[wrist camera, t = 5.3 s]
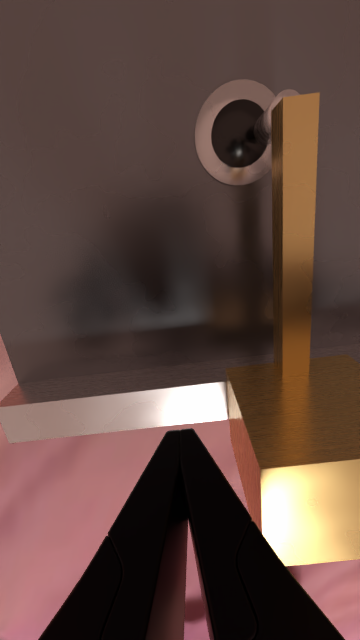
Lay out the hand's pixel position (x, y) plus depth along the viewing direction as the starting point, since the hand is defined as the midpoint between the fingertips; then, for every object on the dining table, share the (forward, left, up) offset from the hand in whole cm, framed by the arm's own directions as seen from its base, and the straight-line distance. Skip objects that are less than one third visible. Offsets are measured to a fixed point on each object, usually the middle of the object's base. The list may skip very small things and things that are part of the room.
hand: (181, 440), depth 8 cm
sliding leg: (-4, -4, -3) cm, 6 cm away
